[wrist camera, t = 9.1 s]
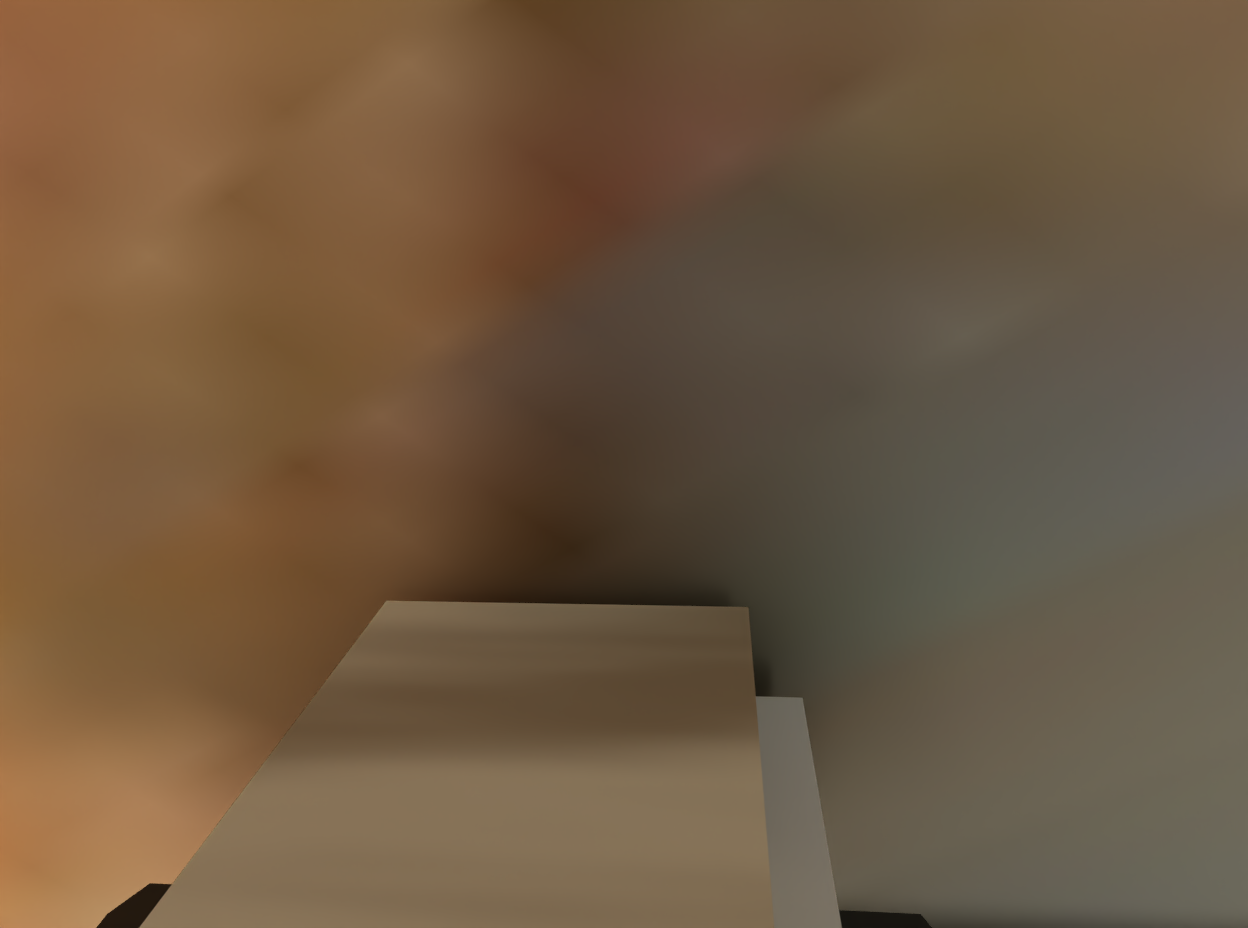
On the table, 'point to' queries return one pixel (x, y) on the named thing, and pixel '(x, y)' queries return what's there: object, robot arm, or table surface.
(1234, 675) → the table surface
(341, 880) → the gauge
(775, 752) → the robot arm
